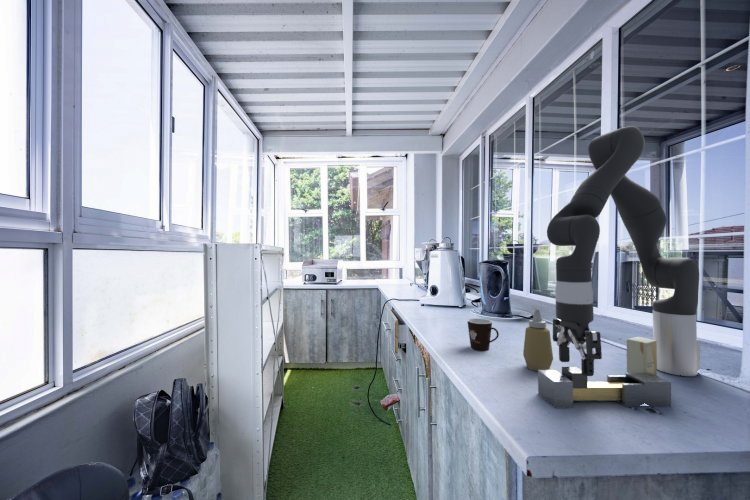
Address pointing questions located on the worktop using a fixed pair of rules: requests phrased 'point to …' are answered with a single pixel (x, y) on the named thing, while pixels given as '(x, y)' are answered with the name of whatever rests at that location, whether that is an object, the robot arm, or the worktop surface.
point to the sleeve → (643, 389)
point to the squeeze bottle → (537, 344)
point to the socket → (555, 388)
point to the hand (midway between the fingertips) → (575, 368)
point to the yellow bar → (591, 386)
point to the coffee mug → (480, 333)
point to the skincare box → (641, 355)
